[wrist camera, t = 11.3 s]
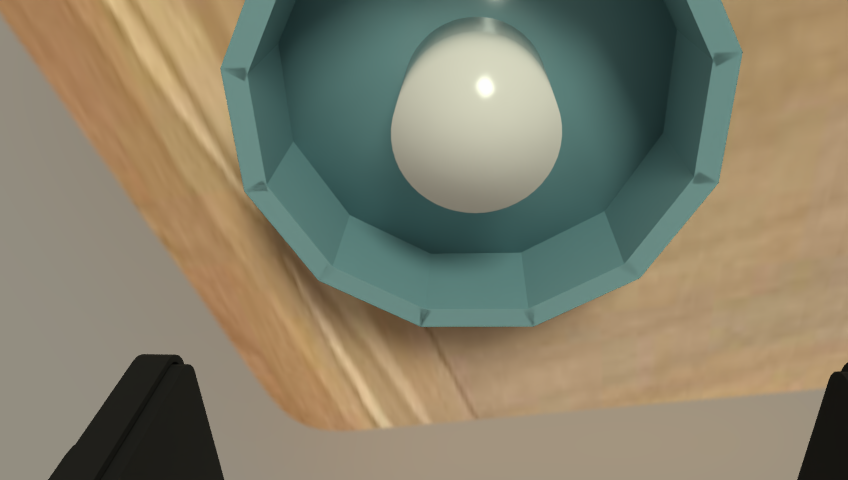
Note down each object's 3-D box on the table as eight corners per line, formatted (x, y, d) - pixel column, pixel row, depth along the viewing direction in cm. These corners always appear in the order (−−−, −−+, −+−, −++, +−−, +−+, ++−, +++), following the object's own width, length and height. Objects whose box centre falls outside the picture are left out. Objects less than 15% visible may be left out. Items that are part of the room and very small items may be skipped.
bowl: (722, -172, 21) (785, -179, 17) (659, 257, 29) (692, 326, 25) (232, -145, 22) (178, -144, 18) (298, 261, 30) (270, 327, 26)
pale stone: (549, 14, 23) (566, 48, 19) (543, 154, 26) (557, 211, 22) (399, 19, 24) (384, 54, 20) (408, 157, 26) (396, 214, 22)
